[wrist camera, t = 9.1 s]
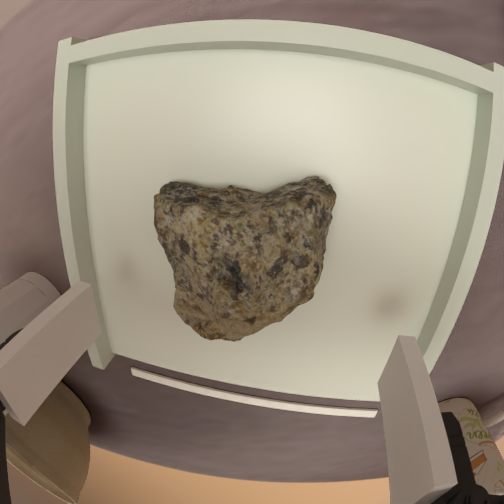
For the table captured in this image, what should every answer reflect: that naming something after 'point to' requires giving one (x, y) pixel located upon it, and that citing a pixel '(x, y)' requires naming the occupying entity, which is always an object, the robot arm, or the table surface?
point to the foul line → (254, 397)
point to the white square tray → (276, 175)
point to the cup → (24, 303)
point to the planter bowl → (53, 444)
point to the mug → (479, 443)
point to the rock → (243, 252)
